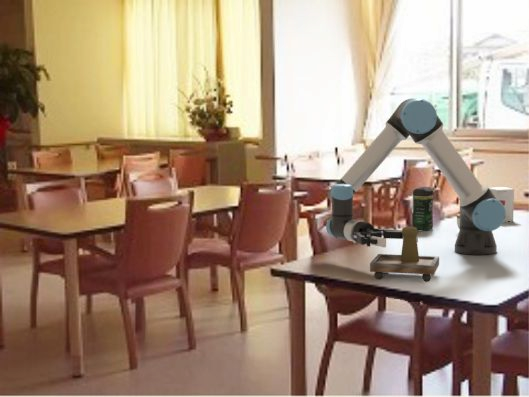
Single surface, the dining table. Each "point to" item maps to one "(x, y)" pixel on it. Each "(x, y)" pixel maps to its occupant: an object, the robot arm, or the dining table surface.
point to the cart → (404, 266)
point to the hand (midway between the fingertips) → (401, 240)
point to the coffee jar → (423, 208)
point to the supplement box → (505, 200)
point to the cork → (409, 245)
